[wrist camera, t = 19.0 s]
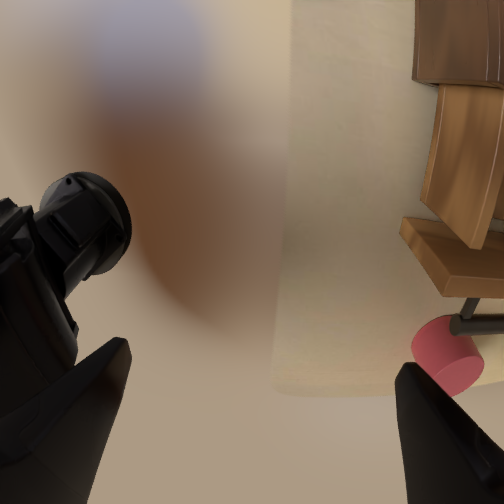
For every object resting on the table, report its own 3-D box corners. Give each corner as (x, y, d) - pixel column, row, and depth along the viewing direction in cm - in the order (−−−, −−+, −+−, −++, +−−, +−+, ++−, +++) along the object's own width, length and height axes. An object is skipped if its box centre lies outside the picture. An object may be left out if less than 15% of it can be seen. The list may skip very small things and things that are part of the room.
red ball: (420, 366, 26) (434, 407, 21) (403, 337, 24) (419, 381, 19) (467, 338, 24) (487, 376, 19) (456, 304, 22) (480, 345, 18)
